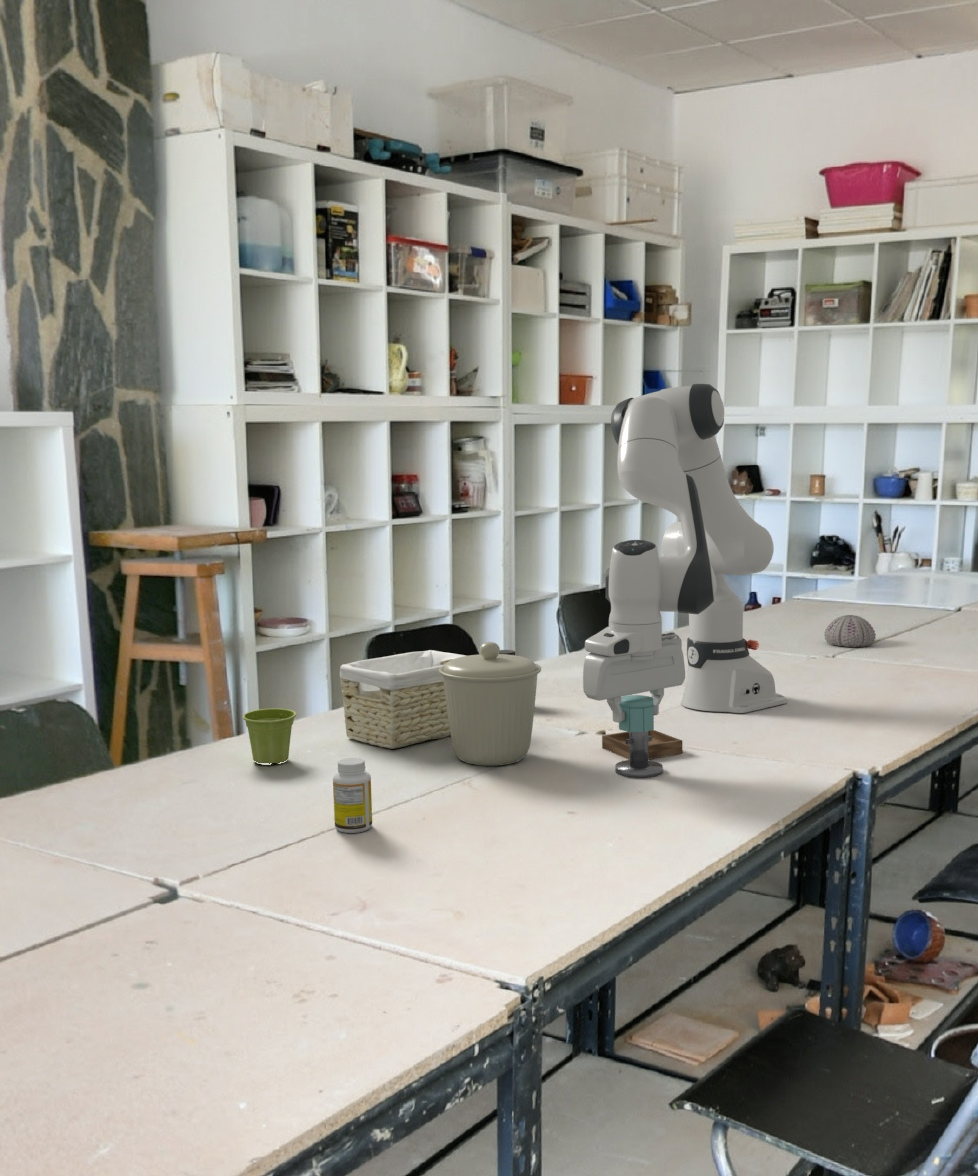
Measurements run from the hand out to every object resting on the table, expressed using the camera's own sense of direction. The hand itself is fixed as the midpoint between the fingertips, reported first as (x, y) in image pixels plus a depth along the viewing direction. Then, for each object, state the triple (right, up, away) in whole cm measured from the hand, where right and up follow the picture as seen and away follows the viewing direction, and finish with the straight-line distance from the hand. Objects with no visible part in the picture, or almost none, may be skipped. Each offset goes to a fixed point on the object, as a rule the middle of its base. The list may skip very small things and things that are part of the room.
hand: (635, 718), depth 203 cm
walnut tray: (+3, -7, +14) cm, 16 cm away
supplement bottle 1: (-45, -14, -26) cm, 54 cm away
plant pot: (-64, -9, +11) cm, 65 cm away
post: (+1, -9, +1) cm, 9 cm away
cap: (0, -2, 0) cm, 2 cm away
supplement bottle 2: (-21, -3, +51) cm, 55 cm away
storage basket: (-40, -7, +29) cm, 50 cm away
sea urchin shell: (+72, +7, +118) cm, 139 cm away
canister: (-24, -9, +10) cm, 28 cm away
